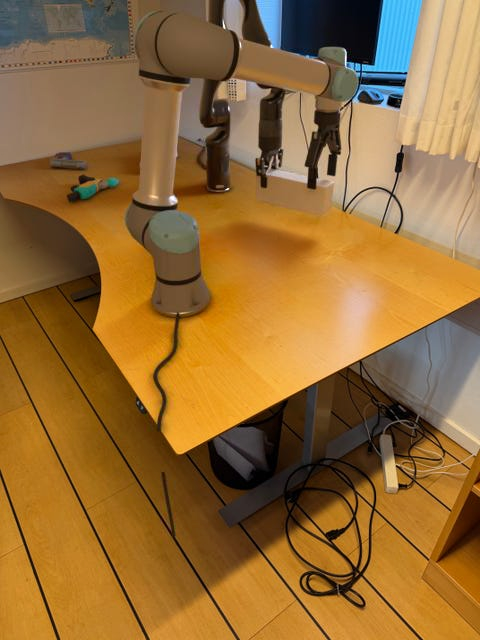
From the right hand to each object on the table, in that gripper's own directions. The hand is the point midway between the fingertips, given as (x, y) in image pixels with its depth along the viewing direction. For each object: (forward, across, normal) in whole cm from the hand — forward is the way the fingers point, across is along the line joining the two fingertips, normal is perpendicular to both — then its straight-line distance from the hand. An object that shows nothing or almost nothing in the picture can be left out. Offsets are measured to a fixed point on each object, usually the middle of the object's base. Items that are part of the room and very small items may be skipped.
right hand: (268, 184), depth 160 cm
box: (+5, 0, +9) cm, 11 cm away
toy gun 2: (+13, +18, -74) cm, 77 cm away
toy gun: (+13, -2, -107) cm, 108 cm away
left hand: (-5, 0, +19) cm, 20 cm away
